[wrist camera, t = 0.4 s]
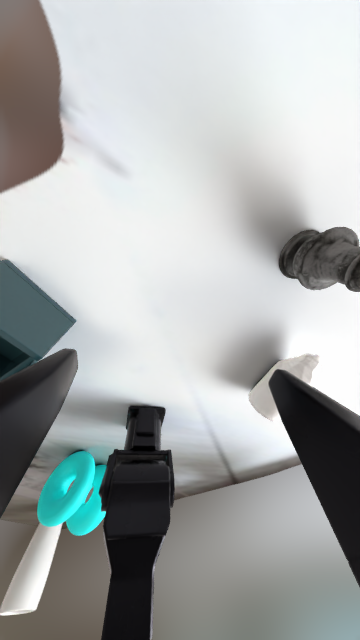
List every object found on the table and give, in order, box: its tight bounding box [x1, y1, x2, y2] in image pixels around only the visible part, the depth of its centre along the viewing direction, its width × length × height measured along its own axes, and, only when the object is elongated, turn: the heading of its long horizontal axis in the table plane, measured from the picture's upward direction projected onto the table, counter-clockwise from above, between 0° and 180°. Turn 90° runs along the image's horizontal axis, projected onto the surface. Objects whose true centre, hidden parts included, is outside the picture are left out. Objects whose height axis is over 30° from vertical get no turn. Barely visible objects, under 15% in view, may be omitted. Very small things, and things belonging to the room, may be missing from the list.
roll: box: [249, 354, 322, 422], centre depth 26 cm, size 6×12×6 cm, turn 155°
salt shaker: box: [279, 227, 360, 292], centre depth 14 cm, size 6×6×12 cm
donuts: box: [37, 451, 107, 536], centre depth 33 cm, size 10×10×10 cm
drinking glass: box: [0, 523, 63, 615], centre depth 41 cm, size 7×7×15 cm
